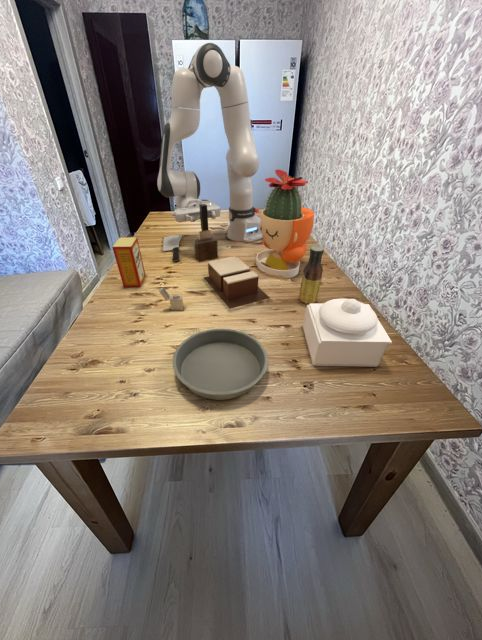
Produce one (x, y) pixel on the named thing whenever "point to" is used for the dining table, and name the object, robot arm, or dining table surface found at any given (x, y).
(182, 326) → the dining table surface
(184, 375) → the cake pan
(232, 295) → the cake slice
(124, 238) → the baking soda box
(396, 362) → the dining table surface
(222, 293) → the cake board
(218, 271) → the cake
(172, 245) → the kitchen cleaver
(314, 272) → the sauce bottle
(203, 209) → the cake knife
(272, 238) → the potted cactus
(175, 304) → the lighter
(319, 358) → the white lidded canister
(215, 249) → the knife block
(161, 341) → the dining table surface
